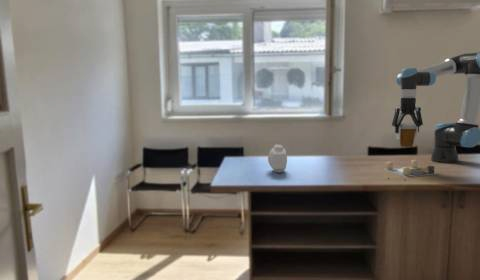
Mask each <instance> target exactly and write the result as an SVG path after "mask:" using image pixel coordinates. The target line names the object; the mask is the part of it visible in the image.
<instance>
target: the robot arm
mask: <svg viewBox="0 0 480 280" xmlns="http://www.w3.org/2000/svg"><path fill="white" fill-rule="evenodd" d="M458 74H464V77H465V78H466V83H465V87H464V89H465V90H464V94H463V99H462V104H461V109H460V114H459V119H458V120H457V121H456V122H447V123H436V124H435V127H434V147H433V151H432V154H431V156H430V161H432V162H436V163H445V164H446V163H449V164H451V163H453V164H454V163H458V162H459V160H460V159H459V155H458V151H457V146H459V147H463V148H474V147H476V146H477V145H478V144H479V143H480V128H479V126H480V125H479V123H478V122H477V121H478V116H479V115H478V114H479V110H480V51H479V52H470V53H469V52H468V53H467V52H466V53H463V54H459V55H456V56H453V57H450V58H447V59H445V60H444V61H443V62H440V63H436V64H433V65H429V66H426V67H422V68H419V69H418V68H417V67H408V68H406V67H405V68H403V69H401V73H399V74H397V76H396V84H397V85H398V86H400V89H401V90H400V97H401V98H400V107H395V108H394V111H395V112H394V114H393V115H394V116H393V119H392V122H391V126H392V127H394V128H395V129H394V133H395V135H396V136H395V139H396V140H400V130H401V127H399V126H400V124H402V122H403V120H404V118H405V117H406V116H408V115H409V116H410V117H411V120H412V122H413V124H416V130H415V136H414V140H415V139H416V140H418V136H419V134H418V133H420V127H421V126H423V125H424V124H423V117H422V113H421V112H422V108H421V107H420V106H419V107H418V106H416V102H417V98H416V97H417V87H431V86H433V85H435V83H436V80H437V78H439V77H443V76H446V75H448V76H452V75H458Z"/></svg>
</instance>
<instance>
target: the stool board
mask: <svg viewBox="0 0 480 280" xmlns="http://www.w3.org/2000/svg"><path fill="white" fill-rule="evenodd" d="M416 167H418V160H417V159H412V160H411V166H402V167H394V162H392V161H387V162H386V168H384V170H385V171H387V172H389V173H393V174H395V175H398V176H401V177H404V179H403V180H407V179H405V178H406V177H407V178H408V177H409V178H410V177H418V176H419V177H420V176H430V175H439V174H440V173H438V172H435V171H434V173H423V170H416V171H413V174H409V168H416Z"/></svg>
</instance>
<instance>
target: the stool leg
mask: <svg viewBox="0 0 480 280" xmlns="http://www.w3.org/2000/svg"><path fill="white" fill-rule="evenodd" d="M416 170H423V173H434V172H435V166H434V165H427V166H422V167H421V166H420V167H419V166H417V167H416V168H409V174H413V171H416Z"/></svg>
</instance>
